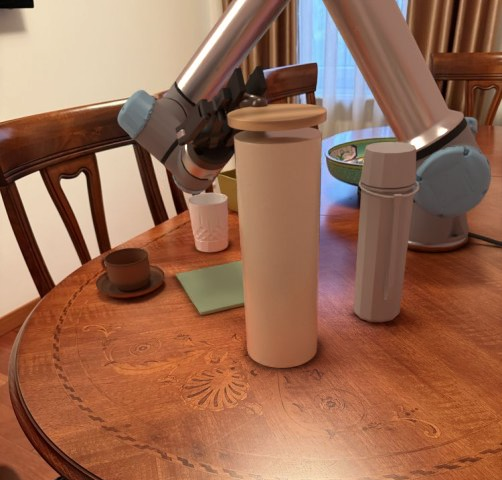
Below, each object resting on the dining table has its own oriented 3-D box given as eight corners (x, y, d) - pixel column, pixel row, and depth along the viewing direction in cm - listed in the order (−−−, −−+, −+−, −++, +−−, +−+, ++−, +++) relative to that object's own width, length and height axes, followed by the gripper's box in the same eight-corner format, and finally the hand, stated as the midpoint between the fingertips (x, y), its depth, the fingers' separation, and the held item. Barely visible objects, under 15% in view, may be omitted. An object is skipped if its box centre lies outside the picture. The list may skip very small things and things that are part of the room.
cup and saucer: (87, 303, 88) (79, 270, 85) (112, 273, 98) (106, 242, 95) (154, 305, 87) (149, 271, 83) (173, 273, 97) (169, 242, 93)
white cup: (227, 254, 103) (223, 205, 98) (188, 253, 105) (183, 205, 99) (234, 239, 110) (230, 192, 105) (198, 239, 111) (192, 192, 106)
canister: (323, 333, 77) (329, 126, 61) (308, 372, 69) (311, 145, 53) (259, 325, 80) (249, 125, 64) (237, 362, 72) (220, 143, 56)
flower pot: (240, 218, 121) (238, 179, 116) (218, 210, 127) (215, 172, 122) (269, 209, 125) (268, 171, 120) (246, 201, 131) (244, 165, 126)
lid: (345, 122, 55) (346, 102, 54) (249, 135, 52) (248, 114, 51) (266, 99, 72) (265, 83, 71) (190, 108, 69) (188, 92, 68)
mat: (291, 294, 88) (291, 291, 87) (201, 315, 83) (200, 312, 83) (255, 260, 100) (255, 257, 100) (175, 276, 96) (175, 273, 95)
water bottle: (345, 304, 84) (354, 143, 71) (393, 300, 84) (411, 139, 71) (360, 334, 76) (373, 159, 63) (412, 329, 76) (437, 154, 63)
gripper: (256, 164, 87) (314, 103, 64) (169, 178, 82) (198, 117, 60) (246, 119, 86) (301, 41, 64) (157, 131, 82) (182, 51, 59)
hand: (251, 78), depth 62 cm, fingers closed on lid, 2 cm apart
